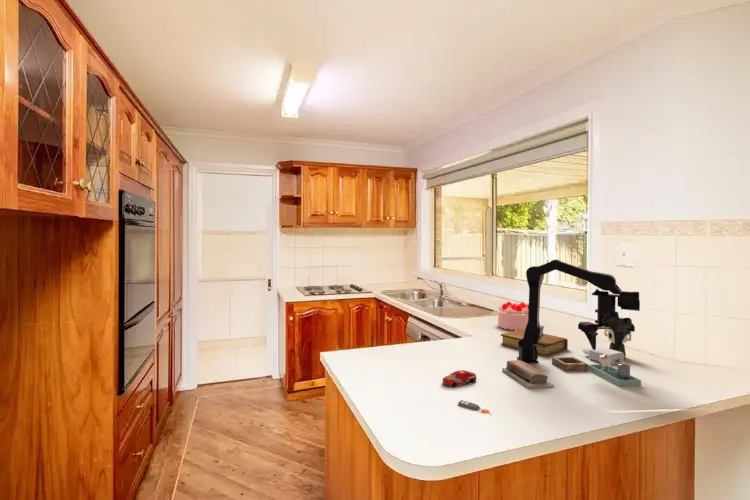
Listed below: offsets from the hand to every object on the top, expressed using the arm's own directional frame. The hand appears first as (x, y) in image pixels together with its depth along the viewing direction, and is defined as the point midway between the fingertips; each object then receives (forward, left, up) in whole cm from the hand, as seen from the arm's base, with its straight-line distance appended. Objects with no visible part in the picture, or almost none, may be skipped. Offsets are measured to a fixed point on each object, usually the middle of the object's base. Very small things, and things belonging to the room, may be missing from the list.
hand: (605, 349), depth 140 cm
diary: (-8, +38, -10) cm, 40 cm away
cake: (+2, +78, -10) cm, 79 cm away
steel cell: (0, 0, -9) cm, 9 cm away
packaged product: (-32, -2, -10) cm, 33 cm away
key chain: (-58, -25, -10) cm, 64 cm away
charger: (+11, +18, -10) cm, 23 cm away
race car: (-57, -4, -10) cm, 58 cm away
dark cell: (0, -9, -9) cm, 13 cm away
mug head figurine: (+21, +21, -10) cm, 31 cm away
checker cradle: (-9, +8, -10) cm, 16 cm away
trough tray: (0, -4, -10) cm, 10 cm away
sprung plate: (-9, +8, -10) cm, 16 cm away
